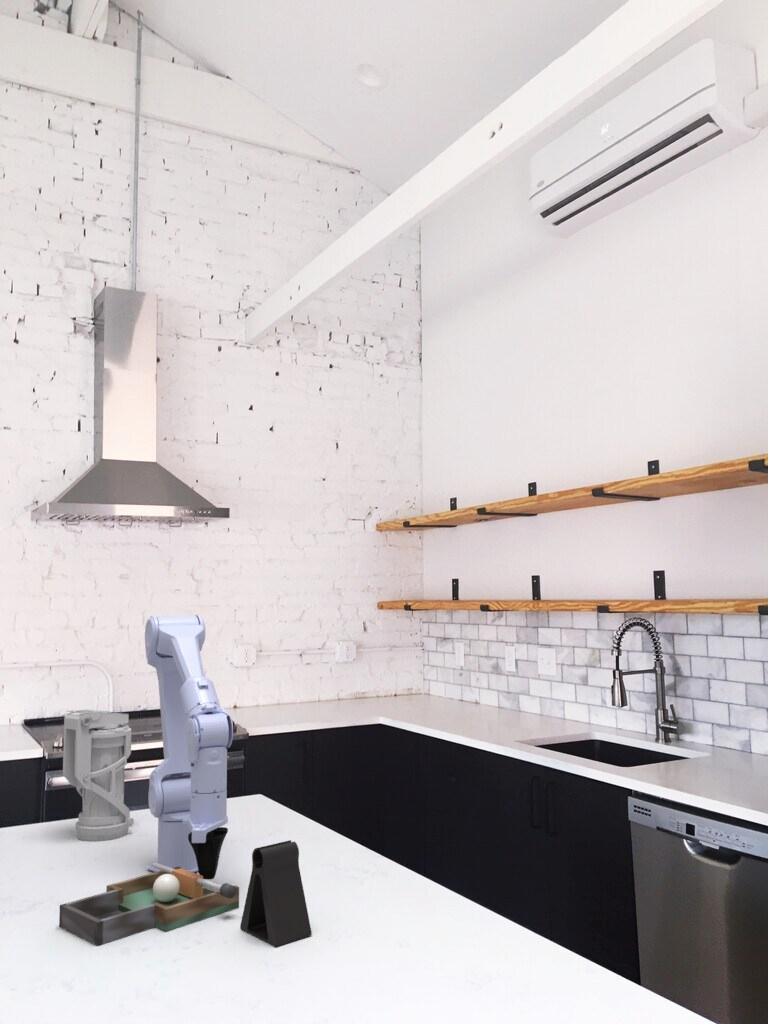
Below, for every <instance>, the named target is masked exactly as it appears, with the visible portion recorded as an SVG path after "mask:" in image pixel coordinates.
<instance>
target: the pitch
mask: <svg viewBox="0 0 768 1024" xmlns="http://www.w3.org/2000/svg"><path fill="white" fill-rule="evenodd" d="M180 868H181V867H179V866H177V867H173V869H175V870H176V869H180ZM164 874H170V873H167V872H164V871H159V872H152V873H148V874H144V875H140V876H137V877H134V878H133V877H132V878H129V879H126V880H122V881H119V882H115V883H112V884H108V885H106V892H102V893H98V894H95V895H91V896H88V897H84V898H80V899H77V900H74V901H70V902H69V901H68V902H66V903H63V904H59V922H58V923H59V925H58V927H59V928H61V929H63V930H65V931H67V932H70V933H71V934H73V935H75V936H77V937H79V938H80V939H83V940H85V941H88V942H89V943H91V944H93V945H95V946H101V945H105V944H107V943H110V942H114V941H116V940H119V939H120V940H121V939H122V938H126V937H128V936H131V935H135V934H138V933H141V932H144V931H148V930H149V929H153V928H156V929H158V930H161V931H162V932H165V933H166V932H169V931H172V930H176V929H178V928H182V927H184V926H186V925H189V924H193V923H197V922H199V921H202V920H205V919H208V918H211V917H214V916H217V915H220V914H223V913H226V912H229V911H232V910H235V909H238V908H239V907H240V886H239V885H234V886H235V887H236V894H235V896H234V897H233V898H227V897H224V896H222V895H221V894H220V891H218V890H216V891H214V890H211V889H208V888H205V887H203V896H201V897H198V898H195V899H193V898H191V897H188V896H185V895H183V894H180V893H178V895H177V896H176V898H175V899H173V900H172V901H170V902H160V901H158V900H157V899H156V898H155V896H154V894H153V885H154V883H155V881H156V879H157V878H158V877H160V876H161V875H164Z"/></svg>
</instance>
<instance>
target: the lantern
mask: <svg viewBox="0 0 768 1024" xmlns="http://www.w3.org/2000/svg"><path fill="white" fill-rule="evenodd" d="M66 712H68V713H67V714H65V716H64V719H63V723H64V724H63V748H62V749H63V756H62V757H63V758H62V775H63V777H64V778H65V779H66V781H67V782H68V783H69V784H70V786H73V787H75V788H76V791H77V794H79V795H80V797H81V798H82V799H81V800H82V806H81V807H82V809H81V812H79V814H78V821H76V822H75V824H74V826H75V833H76V837H77V839H79V840H80V841H86V842H105V841H111V840H116V839H119V838H122V837H125V836H126V835H127V834H128V831H129V828H131V827H132V826H133V825H135V824H134V823H135V819H134V818H132V817H130V816H131V811H130V809H129V807H128V806H127V805H126V804H125V802H124V800H125V798H124V797H125V767H126V765H127V764H128V763H127V761H128V760H127V759H129V757H130V756H131V754H132V728H131V727H130V726H129V720H130V719H129V713H122V712H114V711H110V712H108V711H106V710H105V711H104V710H96V709H76V710H66Z"/></svg>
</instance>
